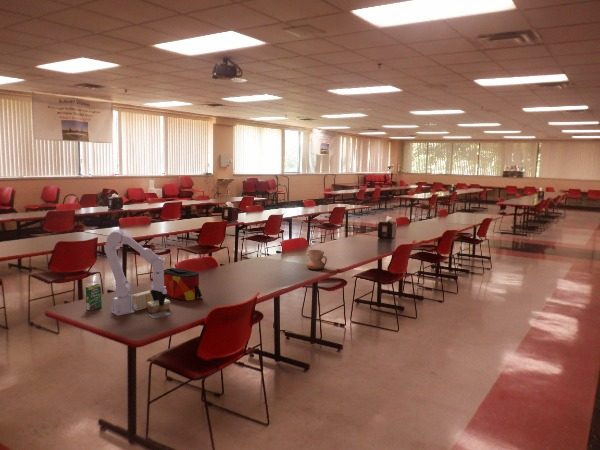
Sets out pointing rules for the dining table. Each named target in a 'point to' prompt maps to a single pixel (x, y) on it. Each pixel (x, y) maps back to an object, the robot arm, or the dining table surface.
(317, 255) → the ceramic jug
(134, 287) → the dining table surface
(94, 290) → the coffee box
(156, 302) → the lid
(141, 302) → the supplement box
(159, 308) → the pen box
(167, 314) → the mat
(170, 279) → the bag
